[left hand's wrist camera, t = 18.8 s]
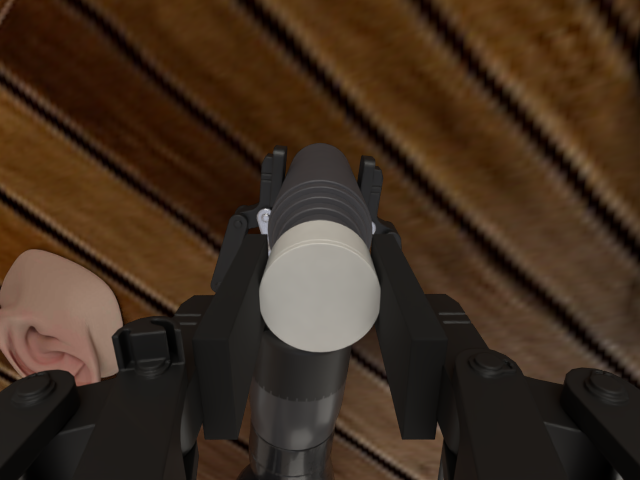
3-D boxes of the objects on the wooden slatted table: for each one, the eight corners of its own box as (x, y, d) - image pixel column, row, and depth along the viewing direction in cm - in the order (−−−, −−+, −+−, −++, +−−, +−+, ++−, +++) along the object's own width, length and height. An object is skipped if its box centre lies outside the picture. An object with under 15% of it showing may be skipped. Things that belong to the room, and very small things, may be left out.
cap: (298, 200, 14) (293, 221, 11) (392, 250, 14) (405, 278, 12) (250, 288, 15) (237, 321, 13) (339, 330, 15) (342, 369, 13)
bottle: (278, 184, 32) (218, 313, 13) (309, 131, 31) (292, 189, 12) (329, 214, 33) (343, 376, 14) (362, 164, 32) (426, 268, 13)
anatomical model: (-42, 258, 30) (109, 288, 31) (-2, 240, 34) (132, 268, 35) (-30, 392, 35) (102, 415, 36) (4, 363, 38) (122, 385, 39)
